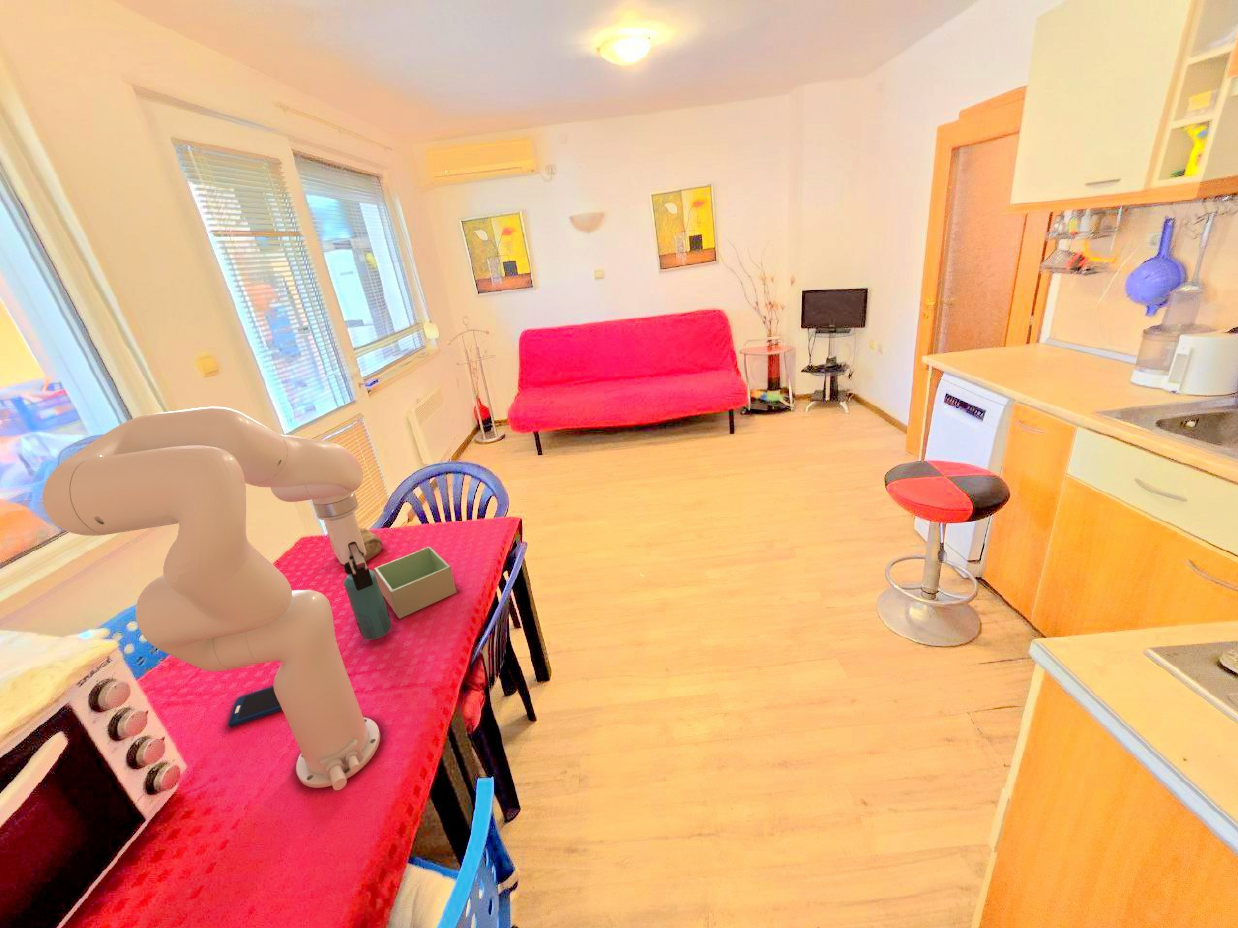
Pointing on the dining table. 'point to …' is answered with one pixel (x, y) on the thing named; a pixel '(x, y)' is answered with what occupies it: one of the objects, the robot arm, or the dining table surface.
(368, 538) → the pastry
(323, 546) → the dining table surface
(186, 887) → the dining table surface
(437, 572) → the bin
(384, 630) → the beverage bottle
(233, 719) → the cell phone
